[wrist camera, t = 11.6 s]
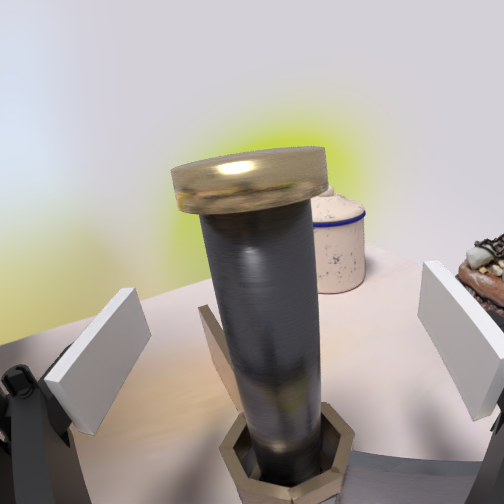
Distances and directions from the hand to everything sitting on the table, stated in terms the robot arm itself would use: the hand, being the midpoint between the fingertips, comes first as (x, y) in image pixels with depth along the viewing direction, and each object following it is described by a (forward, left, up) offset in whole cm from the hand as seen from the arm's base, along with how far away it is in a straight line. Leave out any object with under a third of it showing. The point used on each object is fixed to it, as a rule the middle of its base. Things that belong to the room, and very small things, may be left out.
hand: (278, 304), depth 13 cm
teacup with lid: (-19, +14, -12) cm, 27 cm away
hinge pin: (+3, -2, -11) cm, 12 cm away
